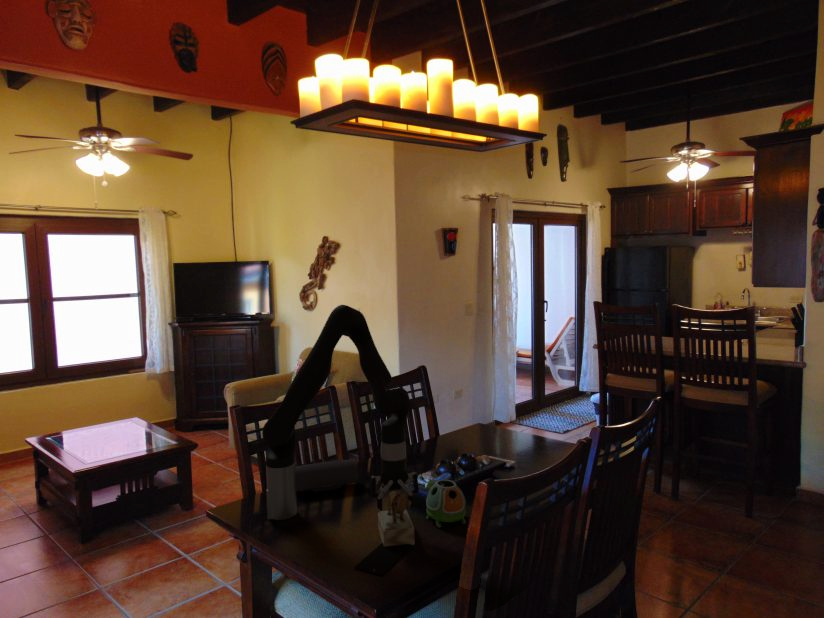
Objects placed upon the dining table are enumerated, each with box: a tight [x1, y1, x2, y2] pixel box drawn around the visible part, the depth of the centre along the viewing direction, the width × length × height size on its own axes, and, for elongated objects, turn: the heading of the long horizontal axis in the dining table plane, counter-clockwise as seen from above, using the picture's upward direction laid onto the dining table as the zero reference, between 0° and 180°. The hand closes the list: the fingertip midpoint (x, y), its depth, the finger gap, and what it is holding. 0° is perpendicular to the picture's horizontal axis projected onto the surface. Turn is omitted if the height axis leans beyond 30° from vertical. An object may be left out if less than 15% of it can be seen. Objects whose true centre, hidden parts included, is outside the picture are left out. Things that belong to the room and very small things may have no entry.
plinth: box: [377, 509, 416, 546], centre depth 175 cm, size 9×13×6 cm
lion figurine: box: [387, 490, 412, 523], centre depth 175 cm, size 15×5×9 cm, turn 23°
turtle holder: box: [425, 479, 467, 528], centre depth 187 cm, size 12×18×12 cm
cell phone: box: [354, 541, 413, 577], centre depth 162 cm, size 9×18×1 cm, turn 153°
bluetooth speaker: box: [295, 459, 359, 493], centre depth 213 cm, size 23×9×10 cm, turn 108°
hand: (395, 508), depth 174 cm, fingers open, 8 cm apart
